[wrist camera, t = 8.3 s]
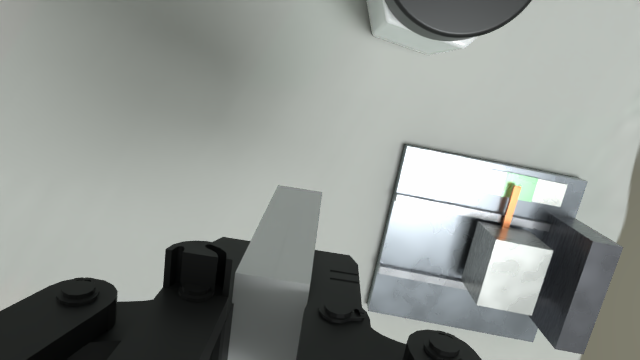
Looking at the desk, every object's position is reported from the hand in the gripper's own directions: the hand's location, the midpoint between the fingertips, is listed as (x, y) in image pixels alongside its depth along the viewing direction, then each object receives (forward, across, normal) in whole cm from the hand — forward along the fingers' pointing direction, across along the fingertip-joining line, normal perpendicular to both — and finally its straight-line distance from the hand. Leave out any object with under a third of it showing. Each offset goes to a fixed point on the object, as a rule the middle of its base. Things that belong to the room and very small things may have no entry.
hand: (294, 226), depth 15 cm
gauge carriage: (+19, +15, -5) cm, 25 cm away
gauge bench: (+21, +14, -7) cm, 26 cm away
